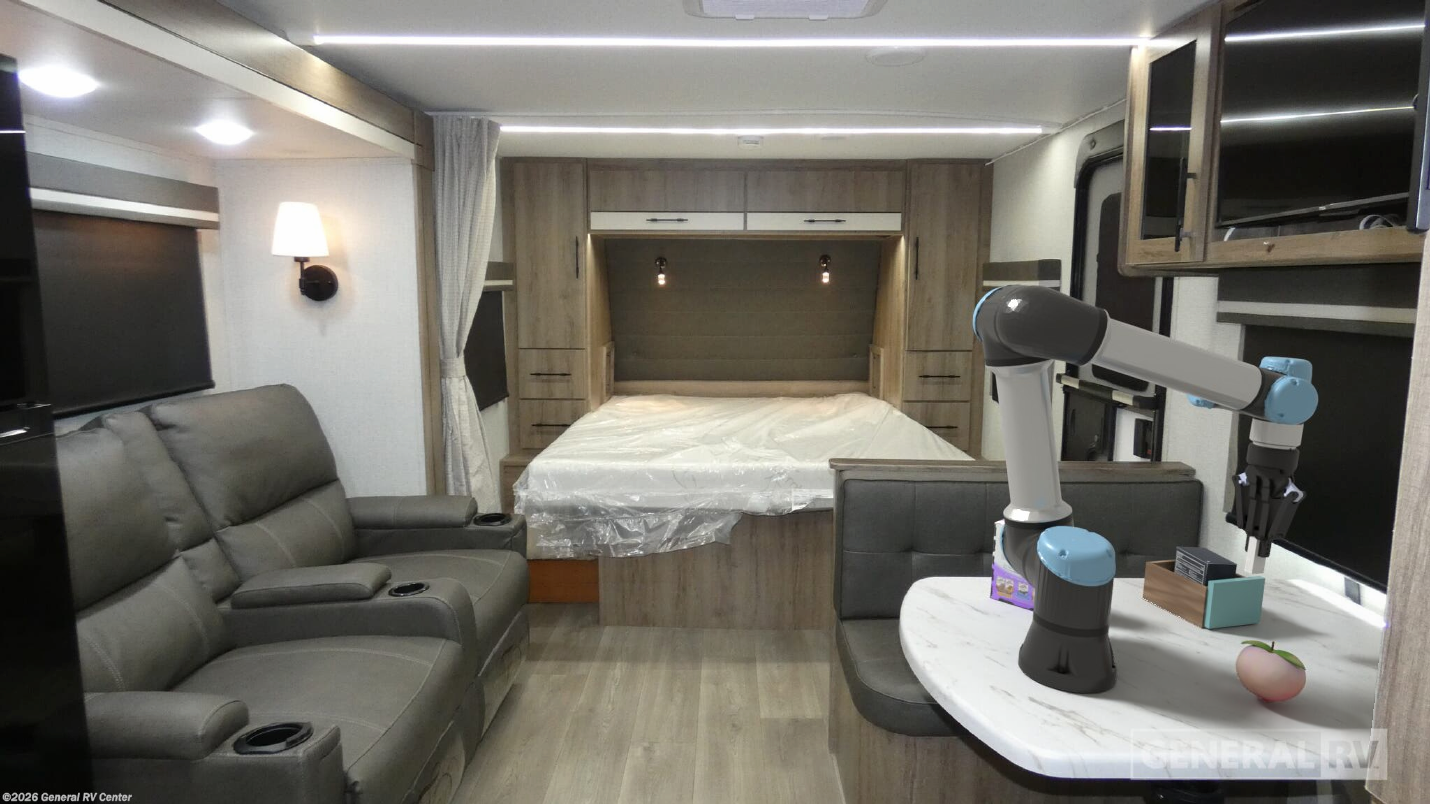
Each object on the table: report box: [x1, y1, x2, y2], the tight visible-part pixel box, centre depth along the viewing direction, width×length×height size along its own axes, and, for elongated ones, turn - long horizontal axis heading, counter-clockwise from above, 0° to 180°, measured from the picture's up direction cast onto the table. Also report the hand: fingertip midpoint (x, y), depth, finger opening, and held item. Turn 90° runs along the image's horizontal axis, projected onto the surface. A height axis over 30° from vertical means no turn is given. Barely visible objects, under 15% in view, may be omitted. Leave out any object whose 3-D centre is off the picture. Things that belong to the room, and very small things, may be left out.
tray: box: [1204, 575, 1266, 629], centre depth 162 cm, size 12×15×9 cm
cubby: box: [1142, 559, 1246, 629], centre depth 163 cm, size 13×15×8 cm
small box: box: [1174, 546, 1238, 587], centre depth 162 cm, size 11×6×10 cm, turn 1°
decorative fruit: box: [1235, 639, 1307, 703], centre depth 127 cm, size 9×8×10 cm
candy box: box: [989, 518, 1035, 611], centre depth 164 cm, size 14×6×16 cm, turn 44°
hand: (1253, 572), depth 148 cm, fingers closed
